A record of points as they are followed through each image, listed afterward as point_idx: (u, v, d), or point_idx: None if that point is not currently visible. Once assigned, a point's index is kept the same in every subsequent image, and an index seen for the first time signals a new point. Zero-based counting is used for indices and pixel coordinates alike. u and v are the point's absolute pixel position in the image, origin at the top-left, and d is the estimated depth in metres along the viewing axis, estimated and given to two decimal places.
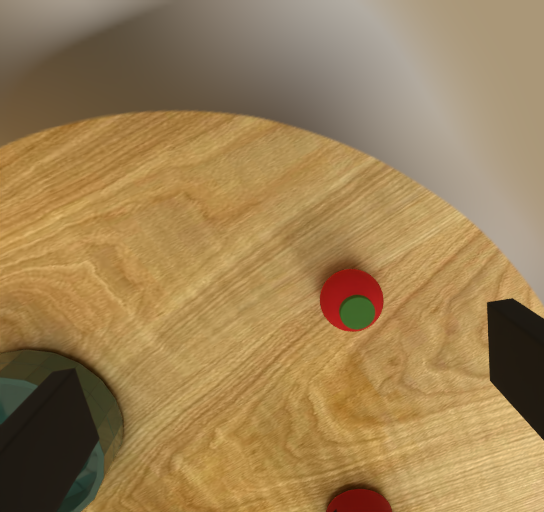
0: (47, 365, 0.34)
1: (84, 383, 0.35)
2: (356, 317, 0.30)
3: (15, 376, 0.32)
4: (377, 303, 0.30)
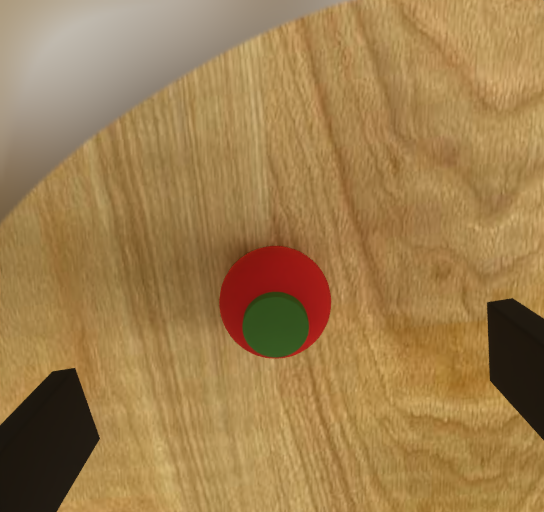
0: None
1: None
2: (281, 333, 0.16)
3: None
4: (285, 281, 0.16)
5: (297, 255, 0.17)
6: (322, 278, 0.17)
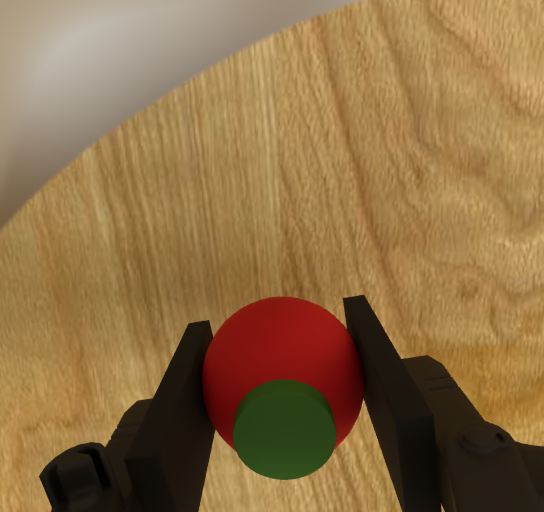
0: None
1: None
2: (293, 445, 0.10)
3: None
4: (299, 361, 0.10)
5: (316, 315, 0.12)
6: (353, 349, 0.12)
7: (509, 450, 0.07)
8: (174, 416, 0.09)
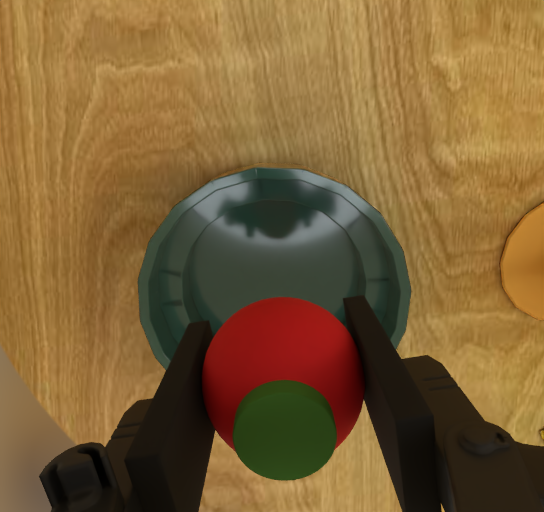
0: None
1: (242, 168, 0.23)
2: (293, 446, 0.10)
3: (166, 218, 0.22)
4: (300, 362, 0.10)
5: (316, 315, 0.12)
6: (353, 350, 0.12)
7: (509, 450, 0.07)
8: (174, 416, 0.09)
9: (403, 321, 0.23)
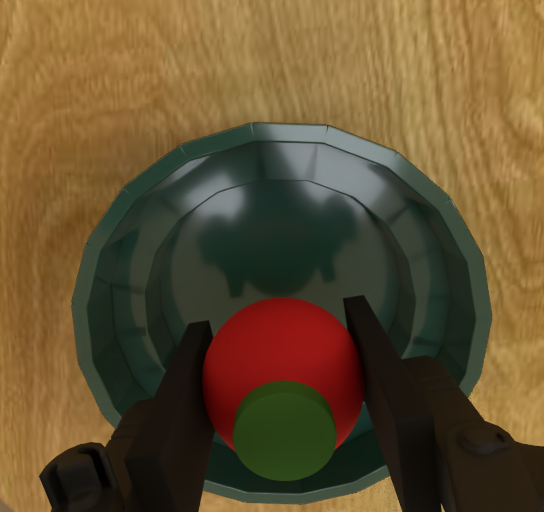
0: None
1: None
2: (293, 446, 0.10)
3: None
4: (300, 362, 0.10)
5: (316, 316, 0.12)
6: (353, 350, 0.12)
7: (509, 450, 0.07)
8: (174, 416, 0.09)
9: (477, 363, 0.15)
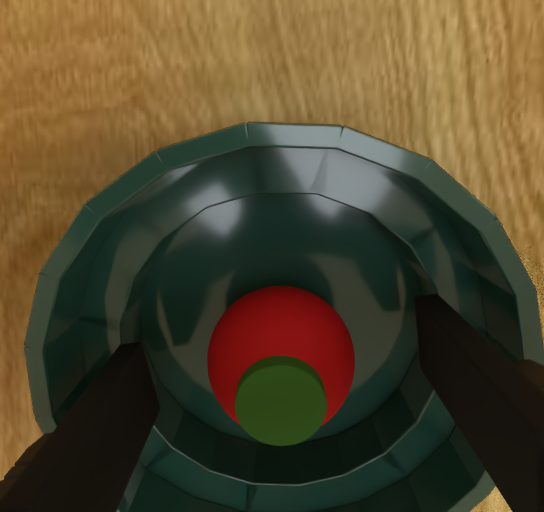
0: None
1: None
2: (288, 414, 0.11)
3: None
4: (294, 340, 0.12)
5: (310, 301, 0.13)
6: (344, 332, 0.13)
7: None
8: (64, 457, 0.09)
9: None
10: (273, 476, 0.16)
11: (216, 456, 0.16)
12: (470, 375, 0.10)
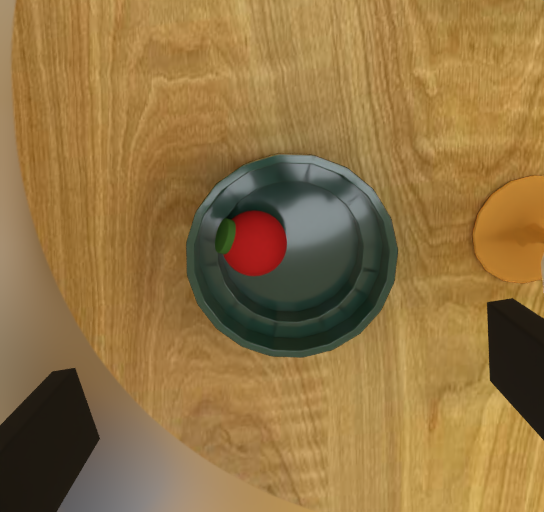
0: None
1: None
2: (221, 238, 0.29)
3: (209, 194, 0.28)
4: (238, 216, 0.30)
5: (260, 212, 0.30)
6: (261, 223, 0.29)
7: None
8: None
9: (392, 275, 0.29)
10: (285, 319, 0.33)
11: (257, 311, 0.33)
12: None
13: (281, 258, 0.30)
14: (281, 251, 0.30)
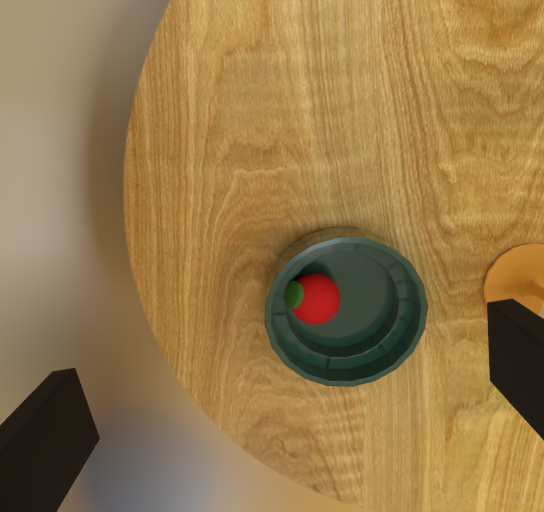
0: (293, 248, 0.39)
1: (325, 233, 0.39)
2: (291, 297, 0.38)
3: (284, 265, 0.37)
4: (304, 279, 0.38)
5: (321, 276, 0.39)
6: (323, 286, 0.37)
7: None
8: None
9: (422, 325, 0.38)
10: (335, 355, 0.42)
11: (313, 348, 0.42)
12: None
13: (336, 311, 0.39)
14: (337, 307, 0.38)
